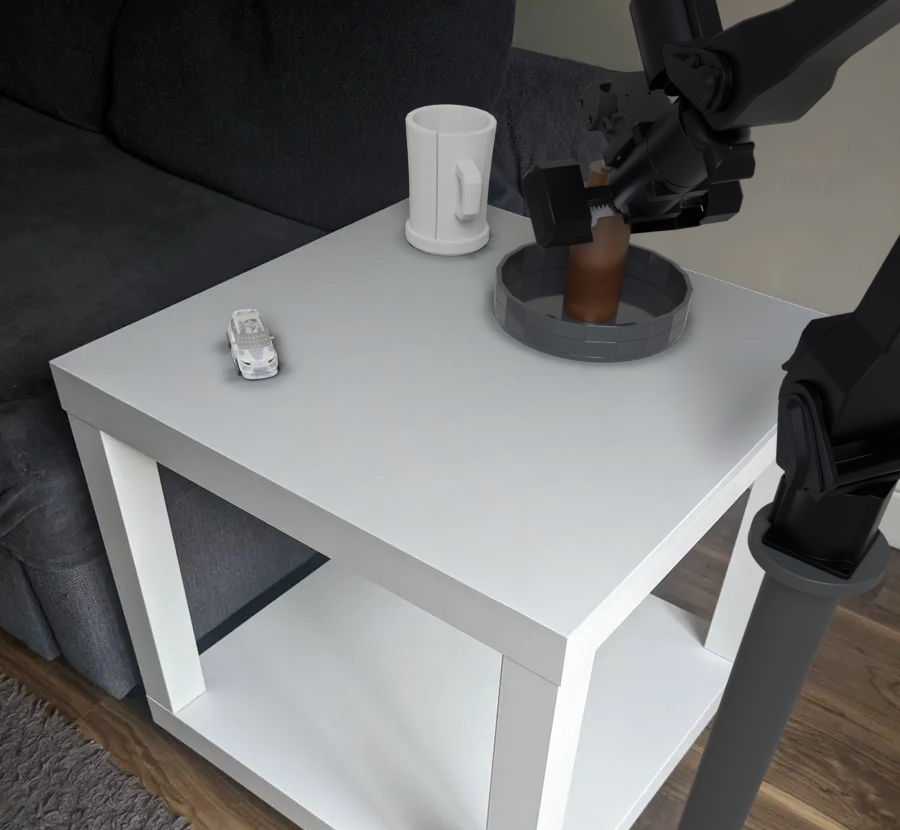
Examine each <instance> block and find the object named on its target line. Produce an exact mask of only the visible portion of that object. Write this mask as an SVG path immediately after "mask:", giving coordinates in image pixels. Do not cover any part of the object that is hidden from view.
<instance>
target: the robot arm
mask: <svg viewBox="0 0 900 830" xmlns="http://www.w3.org/2000/svg"><path fill="white" fill-rule="evenodd" d="M718 7H719V6H718V3H717V0H630V1H629V5H628V10H629V14H630V18H631V22H632V26H633V30H634V35H635V38H636V42H637V47H638V52H639V55H640V59H641V64H642V68H643V70H637V71H635V70H634V71H627V72H615V73H608V74H605V76H604V77H603V78H594V79H593V81H591V83H590V84H588V85H587V86H586V87H585V88H584V89H583V90H582V92H581V94H580V96H579V99H578V101H577V105H576V106H577V113H578V115H579V117H580V119H581V122H582V123H583V125H584V128H585V130H586V131H587V132H595V131H596V132H597V131H599V132H601V133H602V134H603V136H604V139H605V140H606V142H607V143H608V144H607V146H605V148H604V149H603V150H602V151H601V156H602V160H604V164H605V167H611V171H612V172H611V173H610V175H609V182H608V184H609V185H603V186H595V187H587V188H585V186H584V182H585V181H584V179H583V178H584V177H583V174H582V171H581V166H580V164H579V163H578V162H577V161H575V160H574V159H573V158H565V159H558V160H547V161H540V162H534V163H533V164H532V165H531V166H530V168H529V169H528V170H527V172H526V173H525V174H524V176H523V178H522V179H521V181H520V182H521V186H522V190H523V194H524V197H525V201H526V202H525V203H526V206H527V210H528V214H529V219H530V222H531V226H532V230H533V234H534V239H535V241H536V243H538V244H539V245H540V246H542V247H543V248H550V247H556V246H571V245H578V244H585V243H591V242H593V241H594V240H593V236H592V232H591V228H593V227H594V226H595V225H596V223H597V220H598V219H601V218H608V217H615V216H623V220H624V224H632V228H631V234H630V235H637V234H645V233H647V234H649V233H657V232H668V231H669V232H670V231H678V230H684V229H691V228H698V227H701V226H704V225H710V224H717V223H723V222H729V220H731V219H732V218H733V217H734V216H736V215H737V214H738V213H740V211H741V208H742V205H743V201H744V197H745V196H744V191H743V187H742V182H741V181H742V180H750V179H752V178H753V177H754V176H755V172H756V162H757V161H756V158H755V152H754V151H755V148H756V143H755V141H754V140H751V139H752V138H751V137H752V129H751V128H755V127H763V126H773V125H783V124H790V123H793V122H797V121H798V120H801V118H803V117H804V116H805V115H806V114H807V113H808V112H809V111H810V110H811V109H812V108H813V107H814V106H815V105H817V103H818V102H820V100H821V99H823V98H824V97H825V96H826V95H827V94H828V92H830V91H831V90H832V88H833V86H834V84H835V83H836V78H837V75H838V72H839V69H840V68H841V67H843V65H844V64H845V63H846V62H847V61H849V59H851V57H853V56H854V55H856V54H857V53H859V52H860V51H862V50H863V49H864V48H866V47H867V46H869V45H870V44H872V43H873V42H875V41H876V40H877V39H879V38H880V37H882V36H883V35H884V34H887V32H889V31H890V30H892V29H894V28H895V27H896V26H897V25H899V24H900V0H791V1H789V2H787V3H786V4H784V5H781V6H780V7H776V8H774V9H771V10H769V11H766V12H763V13H760V14H756V15H753V16H750V17H748V18H745V19H742V20H740V21H739V22H737V23H735V24H733V25H731V26H729V27H727V28H725V29H724V27H723V23H722V20H721V15H720V11H719V8H718ZM668 97H670V98H674V97H675V98H676V97H677V98H676V99H675V100H674V101H673V102H672V103H671V102H670V100H669V98H668ZM612 204H613V205H612ZM604 205H605V207H604ZM608 205H609V206H608ZM595 206H596V207H595ZM801 331H802V332H801V334H800V337H799V339H798V342H797V345H796V347H795V348H794V351H793V353H792V354H791V356H790V357H789V358H788V359H787V360H786V361H785V362H783V363H782V364H781V370H782V371H785V372H786V374H785V375H784V377H783V379H782V381H781V385H780V387H779V389H778V390H779V391H778V396H777V397H778V398H777V400H778V401H777V402H778V404H777V421H776V422H777V423H776V442H775V443H776V444H775V445H776V447H775V448H776V449H775V463H776V465H777V466H778V467H779V468H780V469H781V471H783V473H782V475H781V476H780V478H779V482H778V485H777V487H776V491H775V494H774V495H773V496H774V497H773V499H772V501H771V502H772V505H771V508H770V511H769V515H768V518H767V520H768V522H769V523H771V524H772V525H771V526H770V528H769V529H768V530H767V531H766V532H765V534H764V535H763V538H762V543H763V544H764V545H765V546H767V547H770V548H772V549H774V550H777V551H779V552H781V553H783V554H786V555H788V556H790V557H792V558H795V559H797V560H799V561H801V562H804V563H806V564H808V565H811V566H813V567H815V568H817V569H820V570H822V571H824V572H826V573H829V574H831V575H833V576H835V577H838V578H840V579H843V580H849V579H850V578H851V577H852V576H853V574H854V573H855V571H856V570H857V568H858V567H859V565H860V564H861V562H862V561H863V559H864V558H865V556H866V555H867V553H868V552H869V550H870V549H871V548H872V546H873V545H874V543H875V542H876V540H877V539H878V537H879V535H880V531H881V529H880V528H879V526H880V524H881V522H882V519H883V517H884V515H885V512H886V511H887V509H888V506H889V503H890V502H891V499H892V497H893V494H894V492H895V490H896V487H897V485H898V482H899V480H900V233H899V235H898V236H897V238H896V240H895V241H894V243H893V245H892V246H891V248H890V250H889V252H888V253H887V255H886V257H885V258H884V260H883V262H882V263H881V265H880V267H879V269H878V270H877V272H876V274H875V275H874V276H873V279H872V281H871V283H870V284H869V286H868V287H867V289H866V291H865V293H864V295H863V296H862V298H861V300H860V301H859V303H858V305H857V306H856V307H855V308H854V310H853V311H850V312H843V313H838V314H833V315H829V316H823V317H818V318H813V319H811V320H809V322H808V323H807V325H806V326H805V327H804V328H803V329H802V330H801ZM878 528H879V529H878Z"/></svg>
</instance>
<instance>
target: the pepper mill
mask: <svg viewBox="0 0 900 830" xmlns="http://www.w3.org/2000/svg"><path fill="white" fill-rule="evenodd" d="M611 172H612V171H611V167H605V164H604V160H603V159H600V160H599V159H598V160H595V161H592V162H590V164H589V166H588V171H587V180H586V181H583V182H584V186H585V188H587V187H595V186H603V185H609V184H608V182H609V175H610V173H611ZM612 205H613V204H612ZM608 206H609V205H608ZM595 207H596V206H595ZM604 207H605V205H604ZM631 228H632V224H624V220H623V216H615V217H608V218H601V219H598V220H597V223H596V225H595V226H594V227H593V228H591V232H592V236H593V240H594V241H593V242H591V243H585V244H578V245H571V246H570V249H569V257H568V265H567V273H566V281H565V289H564V297H563V305H562V306H563V310H564V311H565V313H566V314H568V315H569V316H571V317H573V318H575V319H578V320H582V321H587V322H602V321H607V320H610V319H612V318H613V317H615V316H616V314H617V312H618V307H619V301H620V294H621V288H622V282H623V276H624V270H625V264H626V258H627V252H628V246H629V243H630V240H631V235H632V234H631Z"/></svg>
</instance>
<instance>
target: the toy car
mask: <svg viewBox="0 0 900 830" xmlns="http://www.w3.org/2000/svg"><path fill="white" fill-rule="evenodd" d="M226 338H227V345H228V347H229V348H230V353H231V356H232V357H231V358H232V360H233V362H234V364H235V366H236V367H235V368H236V372H237V375H238V376H242V377H243V378H244V379H248V380H259V379H266V378H272V377H274V376H276V375H277V374H278V371H280V368H281V367H280V361H279V356H278V353H277V351H276V350H275V347H274V345H273V342H272V340H273V339H274V338H275V336H274V335H273V336H272V335H270V332H269V330H268V326H267V324H266V323H265V321H264V319H263V318H262V317H261V316H260V313H259V311H258V310H257V309H255V308H253V307H252V308H243V309H236V310H234V312H232V313H231V314H230V319H229V321H228V325H227V328H226Z"/></svg>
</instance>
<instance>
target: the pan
mask: <svg viewBox="0 0 900 830" xmlns="http://www.w3.org/2000/svg"><path fill="white" fill-rule="evenodd" d="M569 249H570V246H556V247H550V248H543V247H542V246H540V245H539V244H538V243H536V240H535V241H532V242H527V243H525V244H520V245H519V246H518V247H516V248H514V249H513V250H511V251H509V252H507V253H506V254H504V255H503V257H502V258H501V260H500V261H499V262H498V264H497V265H496V267H495V276H494V289H493V290H494V291H493V311H494V316H495V319H496V321H497V323H498V324H499V325H500V327H501V328H502V329H503V331H505V332H506V333H507V334H508V335H509V336H511V337H512V338H514V339H515V340H516V341H518V342H520V343H522V344H523V345H525V346H527V347H529V348H531V349H534V350H535V351H539V352H542V353H544V354H548V355H551V356H555V357H559V358H563V359H568V360H572V361H581V362H582V361H583V362H588V363H589V362H592V363H620V362H629V361H634V360H640V359H644V358H648V357H651V356H655V355H658V354H660V353H662V352H664V351H665V350H667V349H669V348H670V347H672V346H673V345H674V344H675V343H677V341H679V339H680V338H681V336H682V335H683V333H684V330H685V327H686V323H687V320H688V317H689V312H690V307H691V303H692V298H693V293H694V287H693V285H692V281H691V279H690V276H689V274H688V273H687V272H686V271H685V270H684V269H683V268H682V267H681V266H680V265H678V263H676V261H674V260H673V259H671V258H669V257H666V256H665V255H663V254H661V253H659V252H658V251H656V250H654V249H650V248H648V247H644V246H641V245H638V244H635V243H632V242H629V246H628V252H627V258H626V264H625V270H624V276H623V282H622V288H621V294H620V301H619V307H618V312H617V314H616V316H615V317H613V318H612V319H610V320H607V321H602V322H587V321H582V320H578V319H575V318H573V317H571V316H569V315H568V314H566V313H565V311H564V310H563V306H562V305H563V297H564V289H565V281H566V273H567V265H568V257H569Z"/></svg>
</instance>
